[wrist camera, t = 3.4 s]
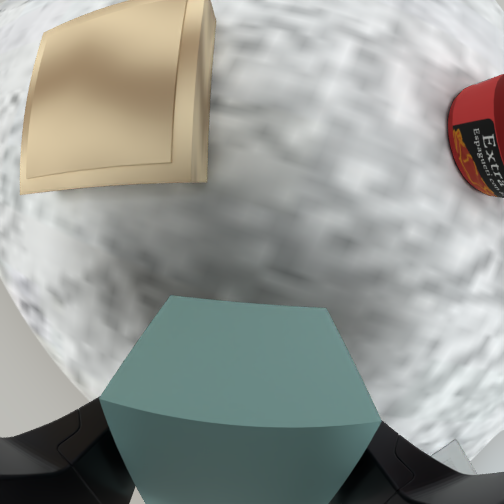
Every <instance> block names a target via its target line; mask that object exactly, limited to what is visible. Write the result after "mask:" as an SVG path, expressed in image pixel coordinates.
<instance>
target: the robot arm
mask: <svg viewBox="0 0 504 504" xmlns="http://www.w3.org/2000/svg"><path fill="white" fill-rule="evenodd" d="M99 398H100V397H98V398H96V399H94V400H93V401H91V402H89V403H87V404H86V405H84V406H82V407H80V408H79V409H77V410H75V411H73V412H71V413H70V414H68V415H65V416H64V417H62V418H60V419H58V420H55V421H53V422H51V423H49V424H46V425H44V426H41V427H39V428H36V429H33V430H31V431H28V432H25V433H23V434H20V435H17V436H14V437H8V438H0V504H129V503H130V500H131V497H132V494H133V492H134V489H135V484H134V482H133V480H132V478H131V476H130V474H129V472H128V470H127V468H126V466H125V463H124V461H123V459H122V457H121V455H120V452H119V450H118V448H117V446H116V443H115V441H114V438H113V436H112V433H111V431H110V428H109V426H108V423H107V420H106V418H105V415H104V412H103V409H102V406H101V403H100V400H99ZM328 504H504V472H499V473H492V474H480V475H468V474H463V473H460V472H458V471H456V470H454V469H452V468H450V467H448V466H447V465H445V464H443V463H441V462H440V461H438V460H436V459H434V458H433V457H431V456H429V455H428V454H426V453H424V452H423V451H421V450H420V449H418V448H417V447H415V446H414V445H413V444H411V443H410V442H409V441H407V440H406V439H405V438H403V437H402V436H401V435H398V433H397V432H396V431H394V430H393V429H392V428H391V427H389V426H388V425H387V424H386V423H384V422H383V421H382V420H381V423H380V425H379V427H378V429H377V431H376V432H375V434H374V436H373V438H372V440H371V441H370V443H369V445H368V446H367V448H366V450H365V451H364V453H363V455H362V456H361V458H360V459H359V461H358V463H357V464H356V466H355V467H354V469H353V470H352V472H351V473H350V475H349V476H348V478H347V479H346V481H345V482H344V483H343V485H342V486H341V488H340V489H339V490H338V492H337V493H336V494H335V496H334V497H333V498H332V500H331V501H330V502H329V503H328Z"/></svg>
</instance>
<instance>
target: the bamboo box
mask: <svg viewBox="0 0 504 504" xmlns="http://www.w3.org/2000/svg"><path fill="white" fill-rule="evenodd" d="M215 28H216V19H215V15H214V11H213V8H212V4H211V1H210V0H129V1H125V2H121V3H118V4H115V5H111V6H108V7H105V8H102V9H99V10H96V11H93V12H91V13H88V14H85V15H83V16H80V17H78V18H75V19H73V20H70V21H68V22H66V23H63V24H61V25H59V26H57V27H55V28H53V29H50V30H48V31H46V32H44V33H43V36H42V40H41V43H40V46H39V49H38V53H37V56H36V60H35V64H34V68H33V72H32V77H31V81H30V86H29V91H28V96H27V102H26V108H25V115H24V123H23V132H22V143H21V159H20V195H24V194H32V193H40V192H49V191H59V190H68V189H78V188H90V187H102V186H116V185H133V184H156V183H203V182H207V165H208V134H209V112H210V93H211V78H212V64H213V51H214V39H215Z"/></svg>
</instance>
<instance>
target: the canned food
mask: <svg viewBox="0 0 504 504" xmlns="http://www.w3.org/2000/svg"><path fill="white" fill-rule="evenodd" d="M448 136H449V141H450V147H451V150H452V153H453V157H454V159H455V162H456V164H457V166H458V168H459V170H460V172H461V173H462V175H463V177H464V178H465V179H466V180H467V181H468V183H469V184H471V185H472V186H473V187H474V188H476V189H477V190H479V191H481V192H482V193H484V194H486V195H489V196H495V197H502V198H504V74H502V75H499V76H496V77H494V78H491V79H488V80H485V81H482V82H479V83H477V84H474V85H471V86H469V87H467V88H465V89H463V90H462V91H461V93H460V94H459V95H458V96H457V97H456V98H455V99H454V101H453V103H452V105H451V107H450V112H449V116H448Z"/></svg>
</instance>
